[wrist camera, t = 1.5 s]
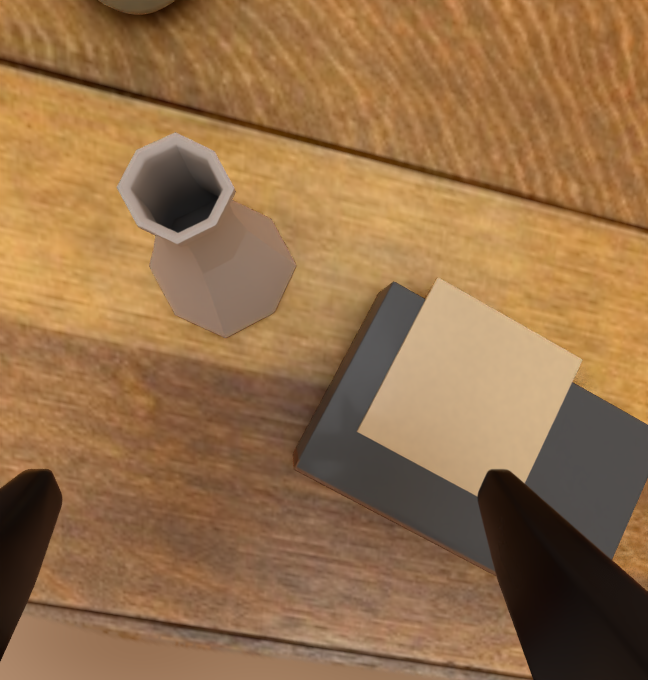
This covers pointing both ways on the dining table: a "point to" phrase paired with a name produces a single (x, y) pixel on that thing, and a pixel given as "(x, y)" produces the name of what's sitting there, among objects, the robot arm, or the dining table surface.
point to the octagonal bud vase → (205, 237)
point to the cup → (137, 5)
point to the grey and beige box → (469, 424)
